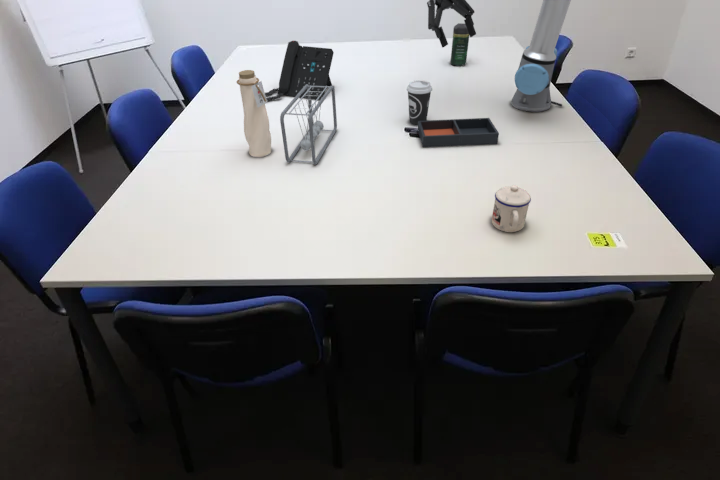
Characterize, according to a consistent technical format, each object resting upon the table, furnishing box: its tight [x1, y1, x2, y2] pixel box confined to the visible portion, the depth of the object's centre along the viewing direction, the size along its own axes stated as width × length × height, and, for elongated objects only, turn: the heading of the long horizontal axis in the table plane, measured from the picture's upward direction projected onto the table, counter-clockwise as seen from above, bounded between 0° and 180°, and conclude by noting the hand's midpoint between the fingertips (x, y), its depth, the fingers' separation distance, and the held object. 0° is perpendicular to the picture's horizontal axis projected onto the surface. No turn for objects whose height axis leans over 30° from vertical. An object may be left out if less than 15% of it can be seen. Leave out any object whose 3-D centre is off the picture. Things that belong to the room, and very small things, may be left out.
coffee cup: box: [406, 79, 433, 127], centre depth 179 cm, size 10×10×15 cm
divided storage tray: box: [417, 117, 500, 148], centre depth 171 cm, size 26×14×4 cm, turn 92°
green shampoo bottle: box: [450, 22, 470, 67], centre depth 234 cm, size 10×8×19 cm
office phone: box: [265, 40, 334, 102], centre depth 206 cm, size 29×28×20 cm
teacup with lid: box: [491, 184, 532, 233], centre depth 124 cm, size 12×9×12 cm
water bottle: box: [236, 69, 272, 158], centre depth 159 cm, size 10×9×28 cm
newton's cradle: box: [279, 84, 338, 166], centre depth 164 cm, size 30×10×18 cm, turn 168°
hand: (459, 40), depth 171 cm, fingers open, 13 cm apart
